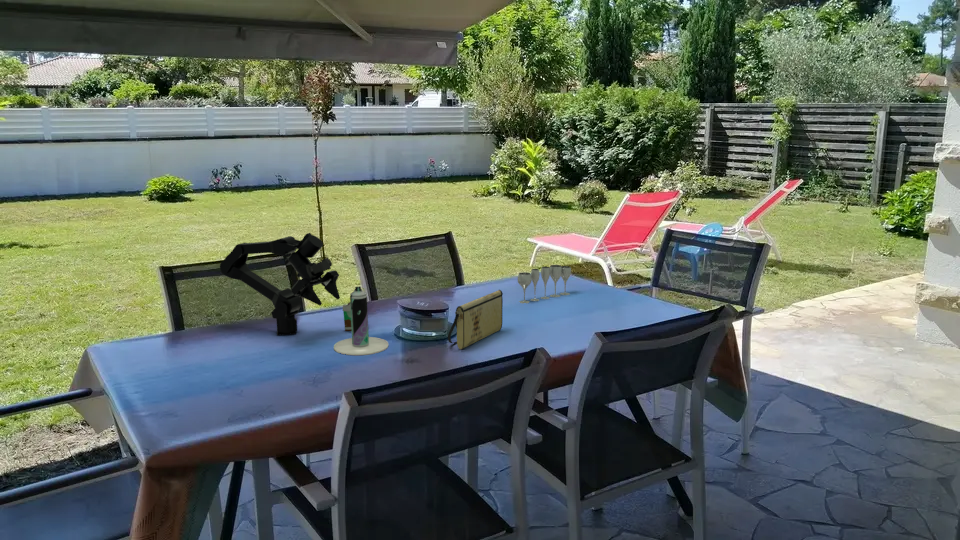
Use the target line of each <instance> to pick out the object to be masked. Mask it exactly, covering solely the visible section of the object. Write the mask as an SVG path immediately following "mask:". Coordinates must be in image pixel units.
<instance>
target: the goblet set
mask: <svg viewBox="0 0 960 540" xmlns="http://www.w3.org/2000/svg"><path fill="white" fill-rule="evenodd" d="M571 274H572V267H571V266H569V265H561V264H550V265H549V266H542V267H541V271H540V269H539V268H532V269H531V271H530V273H529V272H526V271H525V272H523V271H522V272H519V273H518V276H517V283H518V284H519V285H520V286H521V288H522V290H523V300H519V301H518V303H519V302H520V304H524V303H526V304H529V302H530V301H532V302H539V301H540V299H542V300H549V299H550V297H551V298H560V297H561V296H570V295H571V293H569V292H566V287H567V286H566V285H567V281H568V280H569V278H570V277H571ZM540 276H541V280H542V282H543V284H544V296H541V297H540V299H539V298H536V297H534V298H531V299H530V300H526V290H527V288H528V287H529V286H530V285H531V283H533V289H534V294H536V289H537V285H538V282H539V280H540ZM550 278H551V280H552V281H553V283H554V294H550V295H549V296H546V295H547V294H546V292H547V290H546V289H547V283H548V282H549V279H550ZM560 279H562V280H563V284H564V292H560V293H559V294H557V293H556V292H557V284H558V283H557V282H558V281H559V280H560ZM530 303H531V302H530Z"/></svg>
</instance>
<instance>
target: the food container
mask: <svg viewBox="0 0 960 540" xmlns="http://www.w3.org/2000/svg"><path fill="white" fill-rule="evenodd" d="M342 311H343V313H342V314H343V322H344V332H345V331H351V332H352V327H351V306H350V301H349V302H348V303H347V304H343V305H342Z"/></svg>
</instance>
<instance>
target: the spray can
mask: <svg viewBox="0 0 960 540" xmlns="http://www.w3.org/2000/svg"><path fill="white" fill-rule="evenodd" d="M361 287H362V286H355V288H354V290H353V291H352V292H351V293H349V294H350V295H349V302H350V306H351V327H352V331H351V338H352V346H354V347H366V346H368V345H369V337H370V335H369V314H368V313H369V312H368V295H367V292H365V291H364V290H363V289H362V288H361Z"/></svg>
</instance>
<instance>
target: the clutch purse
mask: <svg viewBox="0 0 960 540" xmlns="http://www.w3.org/2000/svg"><path fill="white" fill-rule="evenodd" d="M503 295H504V293H503V291H502V290H501V289H498V290H496V291H493V292H490V293H488V294H486V295H484V296H482V297H479V298H477V299H473V300H471V301H469V302H466V303H464V304H461V305H459V306H457V307H456V309H455V312H454V313H455V317H454V319H453V323H452V325H451V327H450V329H449V331H448V333H447V340H448V343H449V344H457V348H458V349H459V350H460V351H461V350H463V349H465V348H467V347H469V346H471V345H473V344H475V343H476V342H479V341H481V340H482V339H484V338H486V337H488V336H489V337H490V336H491V335H492V334H495V333H497V332H500V331H501V330H502V328H503V301H504V300H503ZM455 328H456V341H455V342H453V341H452V339H451V337H452V333H453V331H454V329H455Z"/></svg>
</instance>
